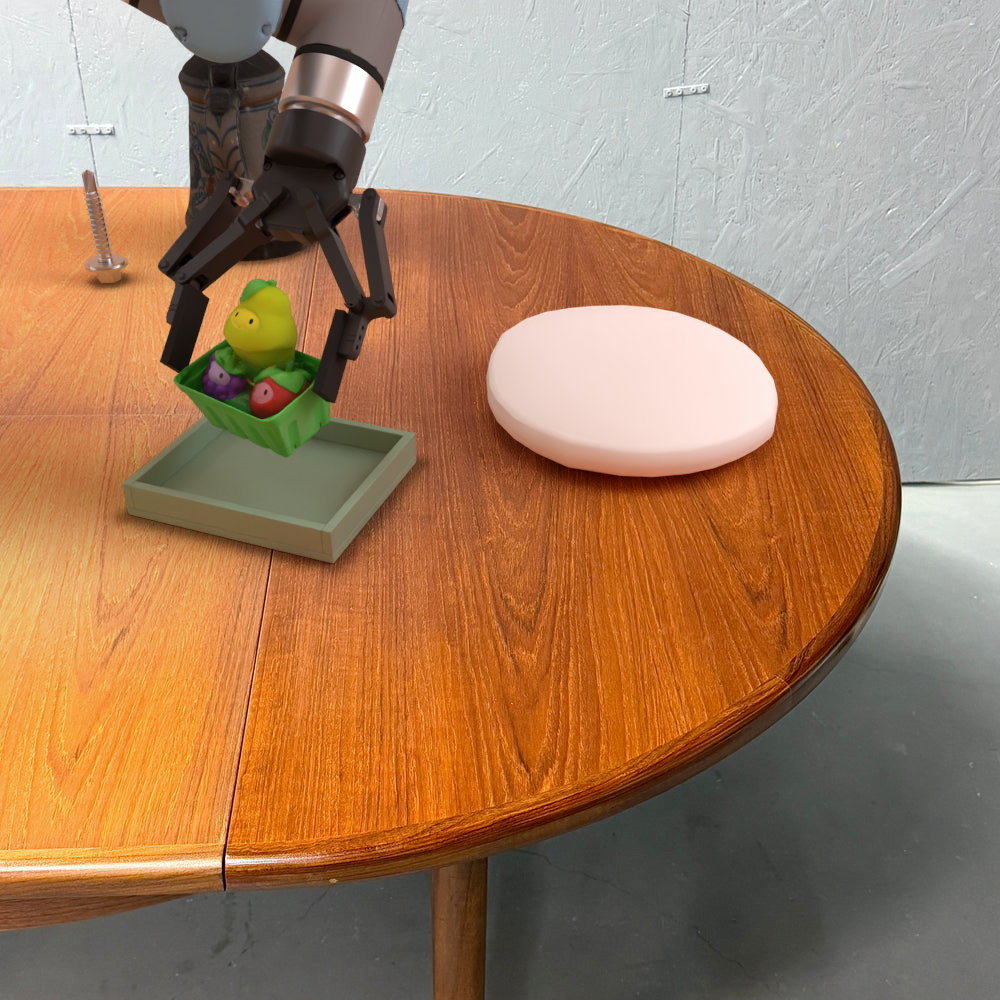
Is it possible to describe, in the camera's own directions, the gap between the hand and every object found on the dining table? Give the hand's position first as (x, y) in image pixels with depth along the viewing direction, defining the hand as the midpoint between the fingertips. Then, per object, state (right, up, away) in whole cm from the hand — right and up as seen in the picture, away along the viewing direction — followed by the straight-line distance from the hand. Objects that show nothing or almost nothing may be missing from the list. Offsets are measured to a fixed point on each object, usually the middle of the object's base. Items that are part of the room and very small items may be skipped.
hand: (246, 383), depth 82 cm
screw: (-27, +17, +45) cm, 55 cm away
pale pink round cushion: (+31, -1, +19) cm, 37 cm away
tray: (+1, -8, +8) cm, 11 cm away
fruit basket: (+1, -3, +4) cm, 5 cm away
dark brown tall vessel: (-11, +24, +55) cm, 61 cm away
